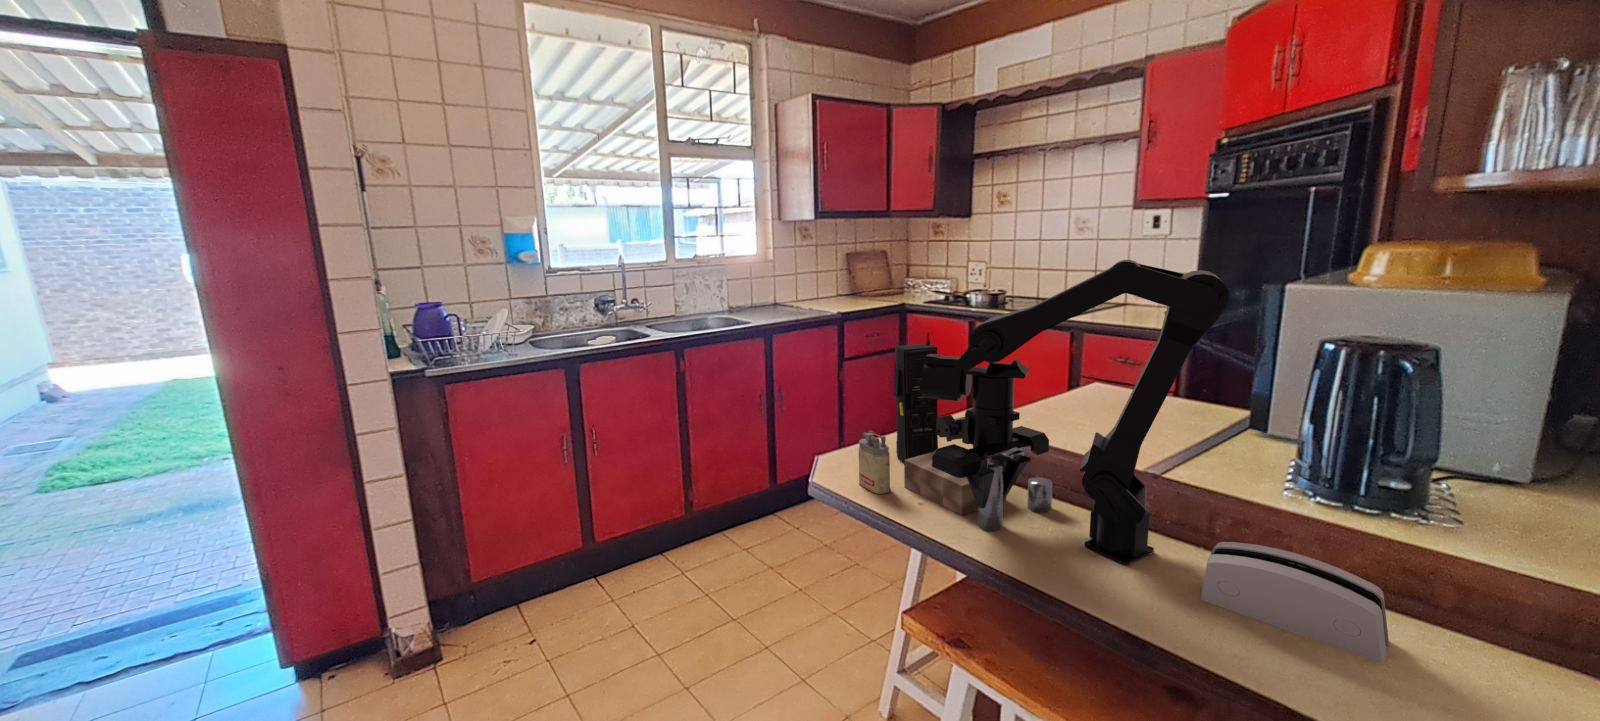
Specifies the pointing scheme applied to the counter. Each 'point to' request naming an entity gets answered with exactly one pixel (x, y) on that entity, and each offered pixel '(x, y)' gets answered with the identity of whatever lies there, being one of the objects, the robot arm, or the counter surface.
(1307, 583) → the grey curved block
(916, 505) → the counter surface
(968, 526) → the counter surface
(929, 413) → the portable radio
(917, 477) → the block
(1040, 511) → the short pin
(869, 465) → the lighter
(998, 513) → the tall pin
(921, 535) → the counter surface
